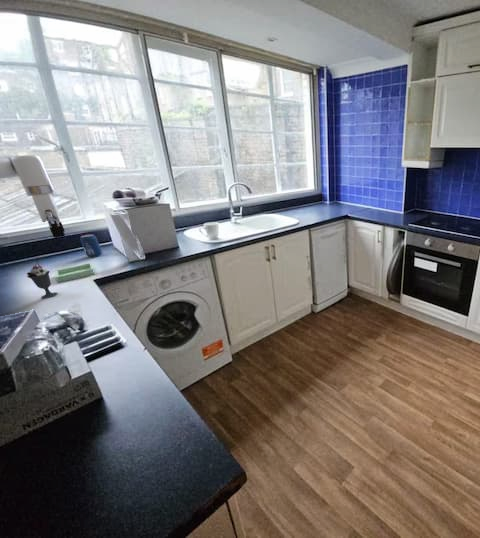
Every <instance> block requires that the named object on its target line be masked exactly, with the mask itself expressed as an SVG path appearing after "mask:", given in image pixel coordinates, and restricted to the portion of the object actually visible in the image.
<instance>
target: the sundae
mask: <svg viewBox="0 0 480 538" xmlns="http://www.w3.org/2000/svg"><path fill="white" fill-rule="evenodd" d="M35 262H36V263H35V265H34V266H32V268H31V269H30V271H29V272H27V273H26V278H28V279H31V280H32V282H33V283H34V284H35V286H36V287H37V288H39V289H43V290H44V291H45V294H44V295H42V296H41V299H49V298H53V297H55V296H57V295H58V292H52V291H50V289H49V287H51V285H52V282H51V277H50V270H47V269H46V268H43V266H42V265H40V264H39V260H36V261H35Z"/></svg>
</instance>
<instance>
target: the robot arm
mask: <svg viewBox="0 0 480 538" xmlns="http://www.w3.org/2000/svg"><path fill="white" fill-rule="evenodd" d="M7 178H8V179H9V178H10V179H11V178H19V180H20V182H21V185H22V187H23V189H24V191H25V194H26V195H27V197H32V200H33V203H34V206H35V208H36V211H37V212H38V215H39V217H40V220H41V222H42V223H46V222H47V224H48V226H49V230H50V233H51V235H52V237H53V238H54V239H56V238H63V237H65V236H66V234H65V232H66V230H65V228H64V226H63V223H62V221H61V217H60V212H59V209H58V205H57V203H56V202H55V199H54V197H53V195H54V194H56V191H55V189H54V186H53V184H52V182H51V179H50V176H49V175H48V172H47V170H46V168H45V165H44V163H43V161H42V159H41V157H40V156H38V155H35V154H28V155H27V154H25V155H6V154H5V155H2V154H1V155H0V179H7Z"/></svg>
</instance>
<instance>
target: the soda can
mask: <svg viewBox="0 0 480 538" xmlns="http://www.w3.org/2000/svg"><path fill="white" fill-rule="evenodd" d="M80 243H81V246H82V248H83V250H84V252H85V255H86V256H87V257H88V258H97V257H101V256H102V254H103V251H102V248H101V246H100V243H99V241H98V238H97V236H96V235H94V234H93V233H90V234H83V235H81V236H80Z"/></svg>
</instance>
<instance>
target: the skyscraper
mask: <svg viewBox="0 0 480 538" xmlns="http://www.w3.org/2000/svg"><path fill="white" fill-rule="evenodd" d="M123 211H124V212H123ZM109 215H110V217H111V219H112V222H113V224H114V226H115V228H116V229H117V232H118V233H119V236H120V240H121V244H122V247H123V249H124V252H125V254H126V257H127V260H128V261H129V263H133V262H138V261H144V260H146V255H145V251H144V249H143V247H142V244H141V242H140V240H139V238H138V235H137V234H135V235H134V233H133V231H132V225H131V219H130V216H129V211H127V209H123V208H122V209H121V208H120V209H117V210H116V211H113V212H110V213H109Z"/></svg>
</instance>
